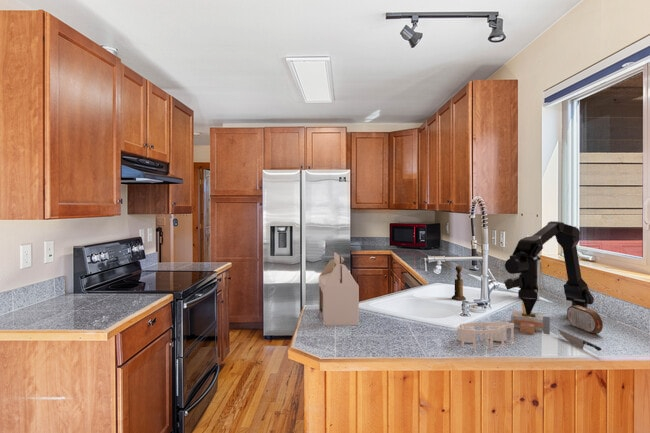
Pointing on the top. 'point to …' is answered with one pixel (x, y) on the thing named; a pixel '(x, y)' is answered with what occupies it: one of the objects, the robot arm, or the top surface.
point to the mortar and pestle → (458, 286)
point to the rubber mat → (546, 325)
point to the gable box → (338, 294)
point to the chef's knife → (577, 340)
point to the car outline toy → (492, 332)
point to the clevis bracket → (527, 322)
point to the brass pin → (525, 310)
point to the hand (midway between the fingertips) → (528, 312)
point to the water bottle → (539, 275)
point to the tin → (584, 319)
